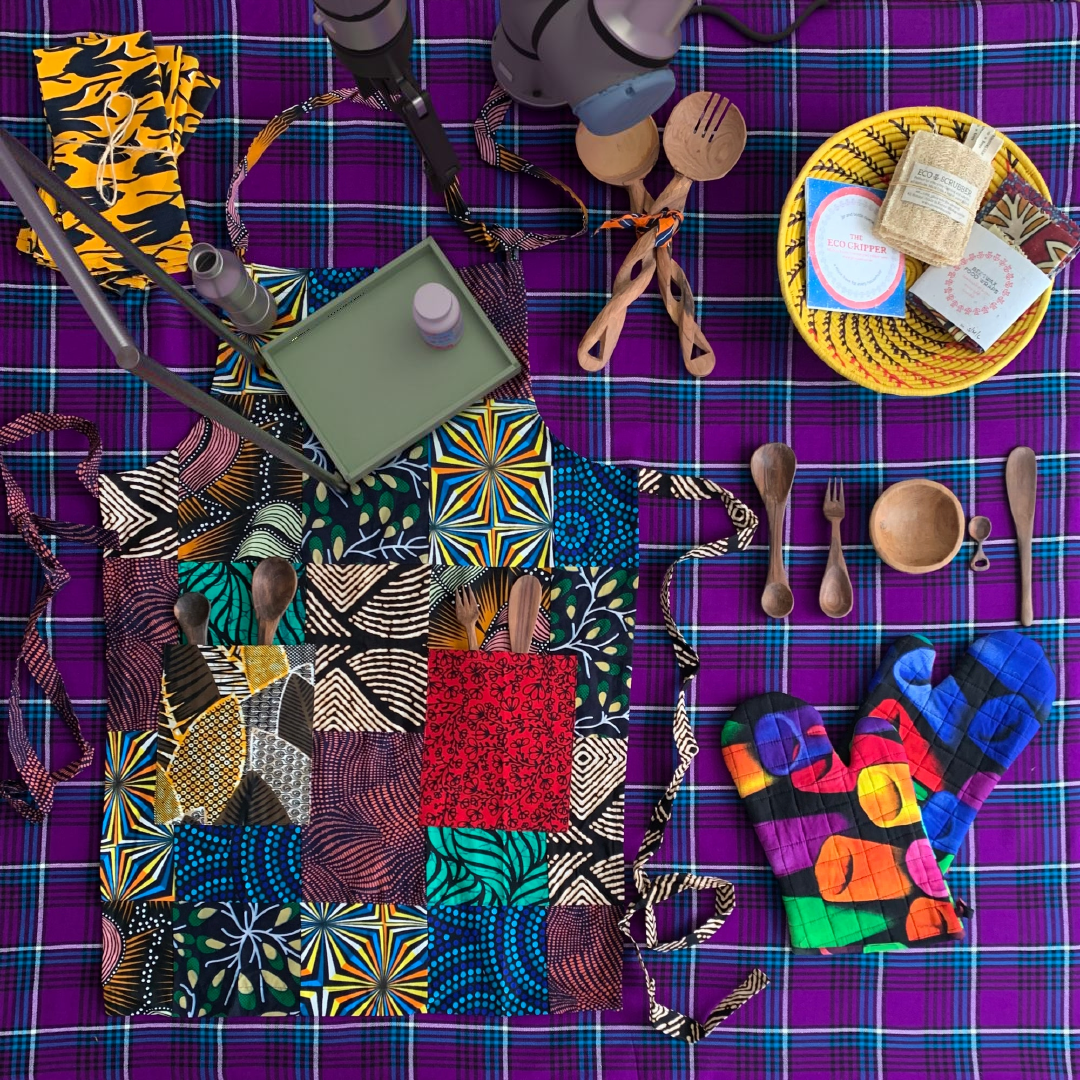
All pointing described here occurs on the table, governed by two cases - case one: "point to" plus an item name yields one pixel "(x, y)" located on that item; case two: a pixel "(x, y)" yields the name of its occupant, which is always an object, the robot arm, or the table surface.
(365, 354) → the platform cart
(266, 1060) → the table surface
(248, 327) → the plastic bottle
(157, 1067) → the table surface
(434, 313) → the pill bottle
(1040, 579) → the table surface
